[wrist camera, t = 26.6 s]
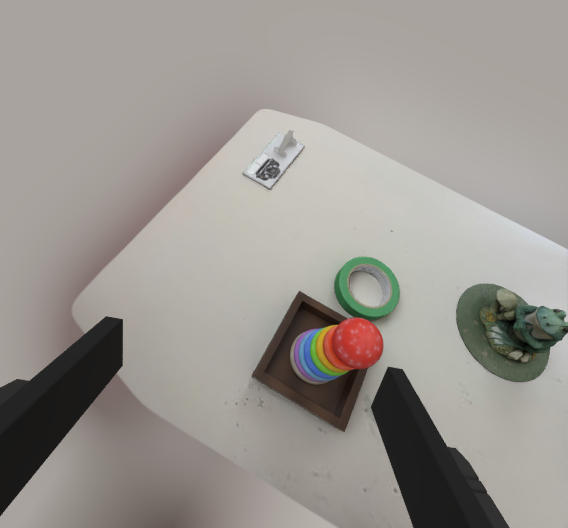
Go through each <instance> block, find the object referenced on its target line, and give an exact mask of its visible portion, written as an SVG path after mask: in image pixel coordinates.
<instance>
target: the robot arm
mask: <svg viewBox="0 0 568 528" xmlns="http://www.w3.org/2000/svg"><path fill="white" fill-rule="evenodd" d="M122 366H123V319H118V318H113V317H107V316H106V317H105V318H104V319H102V320H101V321H100V322H99V323H98V324H96V325H95V326H94V327H93V328H92V329H91V330H89V331H88V332H87V333H86V334H85V335H83V336H82V337H81V338H80V339H79V340H78V341H76V342H75V343H74V344H73V345H72V346H70V347H69V348H68V349H67V350H66V351H64V352H63V353H62V354H61V355H60V356H58V357H57V358H56V359H55V360H54V361H53V362H51V363H50V364H49V365H48V366H47V367H46V368H44V369H43V370H42V371H41V372H40V373H38V374H37V375H36V376H35V377H34V378H32V379H31V380H30V381H25V380H20V379H16V380H14V381H13V382H11V383H8V384H7V385H5V386H3V387H1V388H0V516H1V515H2V513H3V512H4V511H5V510H6V508H7V507H8V506H9V505H10V503H11V502H12V501H13V500H14V499H15V497H16V496H17V495H18V494H19V492H20V491H21V490H22V489H23V487H24V486H25V485H26V484H27V483H28V481H29V480H30V479H31V478H32V476H33V475H34V474H35V473H36V471H37V470H38V469H39V468H40V466H41V465H42V464H43V463H44V462H45V460H46V459H47V458H48V457H49V455H50V454H51V453H52V451H54V449H55V448H56V447H57V446H58V444H59V443H60V442H61V441H62V439H63V438H64V437H65V436H66V434H67V433H68V432H69V431H70V430H71V428H72V427H73V426H74V425H75V423H76V422H77V421H78V420H79V418H80V417H81V416H82V415H83V414H84V412H85V411H86V410H87V409H88V407H89V406H90V405H91V404H92V403H93V401H94V400H95V399H96V398H97V396H98V395H99V394H100V393H101V391H102V390H103V389H104V388H105V386H106V385H107V384H108V383H109V382H110V380H111V379H112V378H113V377H114V375H115V374H116V373H117V372H118V371H119V369H120V368H121V367H122ZM371 409H372V412H373V415H374V418H375V420H376V423H377V426H378V429H379V432H380V434H381V437H382V440H383V443H384V446H385V449H386V451H387V454H388V457H389V460H390V463H391V465H392V468H393V471H394V474H395V477H396V480H397V482H398V485H399V488H400V491H401V494H402V496H403V499H404V502H405V505H406V508H407V511H408V513H409V516H410V519H411V522H412V525H413V527H414V528H509V526H508V525H507V523H506V521H505V520H504V518H503V517H502V515H501V513H500V512H499V510H498V508H497V507H496V505H495V504H494V502H493V500H492V499H491V497H490V496H489V495H488V494H487V491H486V489H485V487H484V486H483V484H482V483H481V481H479V478H478V476H477V475H476V473H475V471H474V470H473V468H472V466H471V465H470V463H469V462H468V461H467V460H466V459H465V458H464V457H463V455H462V454H461V453H460V452H459V451H458V450H457V449H456V448H451V447H447V446H446V444H445V442H444V440H443V439H442V437H441V435H440V433H439V432H438V430H437V428H436V427H435V425H434V423H433V421H432V420H431V418H430V416H429V414H428V413H427V411H426V409H425V407H424V406H423V404H422V402H421V400H420V399H419V397H418V395H417V394H416V392H415V390H414V388H413V387H412V385H411V383H410V381H409V380H408V378H407V376H406V374H405V373H404V371H403V369H398V368H392V367H388V368H387V371H386V373H385V375H384V377H383V380H382V382H381V384H380V387H379V389H378V391H377V394H376V396H375V398H374V401H373V403H372V405H371Z"/></svg>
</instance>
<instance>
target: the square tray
mask: <svg viewBox="0 0 568 528" xmlns="http://www.w3.org/2000/svg"><path fill="white" fill-rule="evenodd" d="M346 319H347V318H346V317H344V316H342V315H340V314H339V313H337V312H335V311H333V310H332V309H330V308H328V307H326V306H325V305H323V304H321V303H319V302H318V301H316V300H314V299H312V298H311V297H309V296H307V295H305V294H304V293H302V292H300V291H299V292H298V294H297V295H296V297H295V299H294V300H293V302H292V304H291V306H290V308H289V309H288V311H287V313H286V315H285V317H284V318H283V320H282V322H281V324H280V326H279V327H278V329H277V331H276V333H275V335H274V336H273V338H272V340H271V342H270V344H269V345H268V347H267V349H266V351H265V353H264V354H263V356H262V358H261V360H260V362H259V363H258V365H257V367H256V369H255V371H254V372H253V374H252V377H253V378H255V379H257V380H258V381H260V382H262V383H263V384H265V385H266V386H268V387H270V388H271V389H273V390H275V391H276V392H278V393H280V394H281V395H283V396H284V397H286V398H288V399H289V400H291V401H293V402H294V403H296V404H298V405H299V406H301V407H302V408H304V409H306V410H307V411H309V412H311V413H312V414H314V415H316V416H317V417H319V418H321V419H322V420H324V421H325V422H327V423H329V424H330V425H332V426H334V427H335V428H337V429H339V430H342V431H344V432H345V429H346V426H347V424H348V421H349V418H350V416H351V413H352V410H353V407H354V405H355V402H356V399H357V396H358V394H359V391H360V388H361V386H362V383H363V380H364V377H365V375H366V372H367V369H368V368H365V369H353V370H349V371H348V372H347V373H345V374H343V375H341V376H339V377H337V378H335V379H333V380H330V381H329V382H327V383H324V384H320V385H314V384H310V383H307V382H305V381H303V380H302V379H301V378H299V377H298V376H297V374H296V373H295V372H294V370H293V368H292V365H291V362H290V350H291V346H292V344H293V342H294V340H295V339H296V338H297V337H298V336H299V335H300V334H301V333H303V332H305V331H308V330H311V329H320V328H325V327H328V326H331V325H339V324H340V323H341V322H343V321H344V320H346Z"/></svg>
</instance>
